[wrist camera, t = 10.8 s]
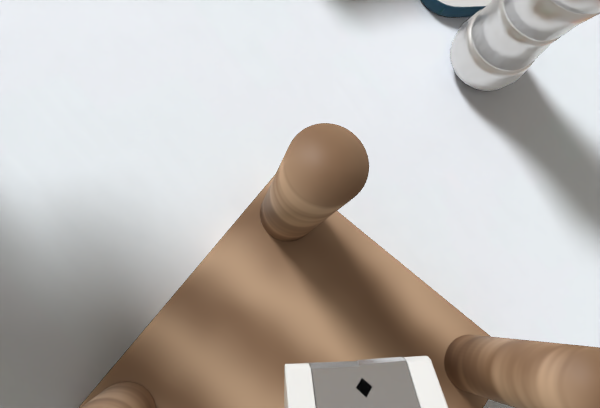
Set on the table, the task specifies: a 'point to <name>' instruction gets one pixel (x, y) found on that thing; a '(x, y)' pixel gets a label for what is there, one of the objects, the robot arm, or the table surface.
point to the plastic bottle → (512, 38)
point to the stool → (323, 309)
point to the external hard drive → (456, 7)
